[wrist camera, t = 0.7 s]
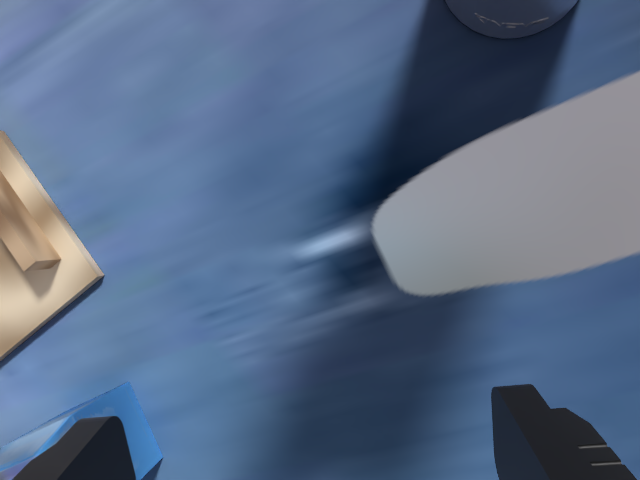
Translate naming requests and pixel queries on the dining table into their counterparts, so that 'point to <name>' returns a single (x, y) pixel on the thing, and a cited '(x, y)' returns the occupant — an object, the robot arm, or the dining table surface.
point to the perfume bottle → (116, 402)
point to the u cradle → (34, 254)
